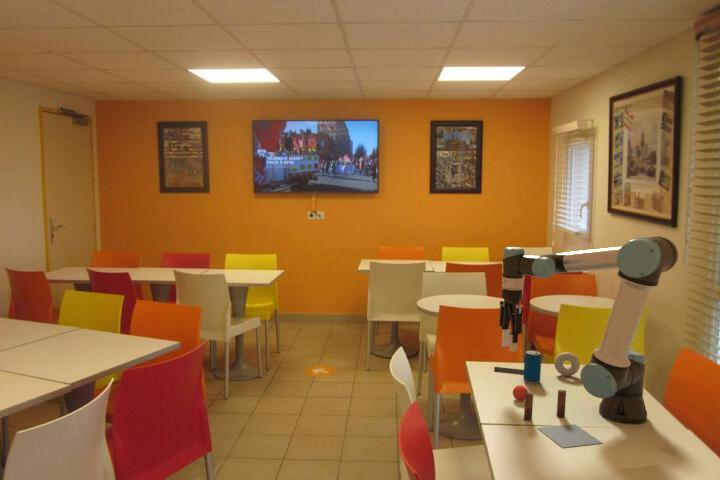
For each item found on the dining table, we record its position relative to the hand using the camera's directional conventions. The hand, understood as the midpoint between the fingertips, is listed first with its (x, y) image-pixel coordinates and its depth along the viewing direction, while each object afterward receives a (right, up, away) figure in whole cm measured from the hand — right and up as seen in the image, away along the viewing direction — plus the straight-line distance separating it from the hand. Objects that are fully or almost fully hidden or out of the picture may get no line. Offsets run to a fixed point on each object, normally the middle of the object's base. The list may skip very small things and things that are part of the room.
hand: (509, 348), depth 219 cm
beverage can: (+12, -16, +13) cm, 24 cm away
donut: (+29, -15, +20) cm, 39 cm away
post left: (0, -20, -24) cm, 31 cm away
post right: (+12, -19, -21) cm, 31 cm away
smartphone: (+7, -15, +25) cm, 30 cm away
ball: (+2, -15, -8) cm, 17 cm away
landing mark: (+10, -21, -36) cm, 43 cm away
